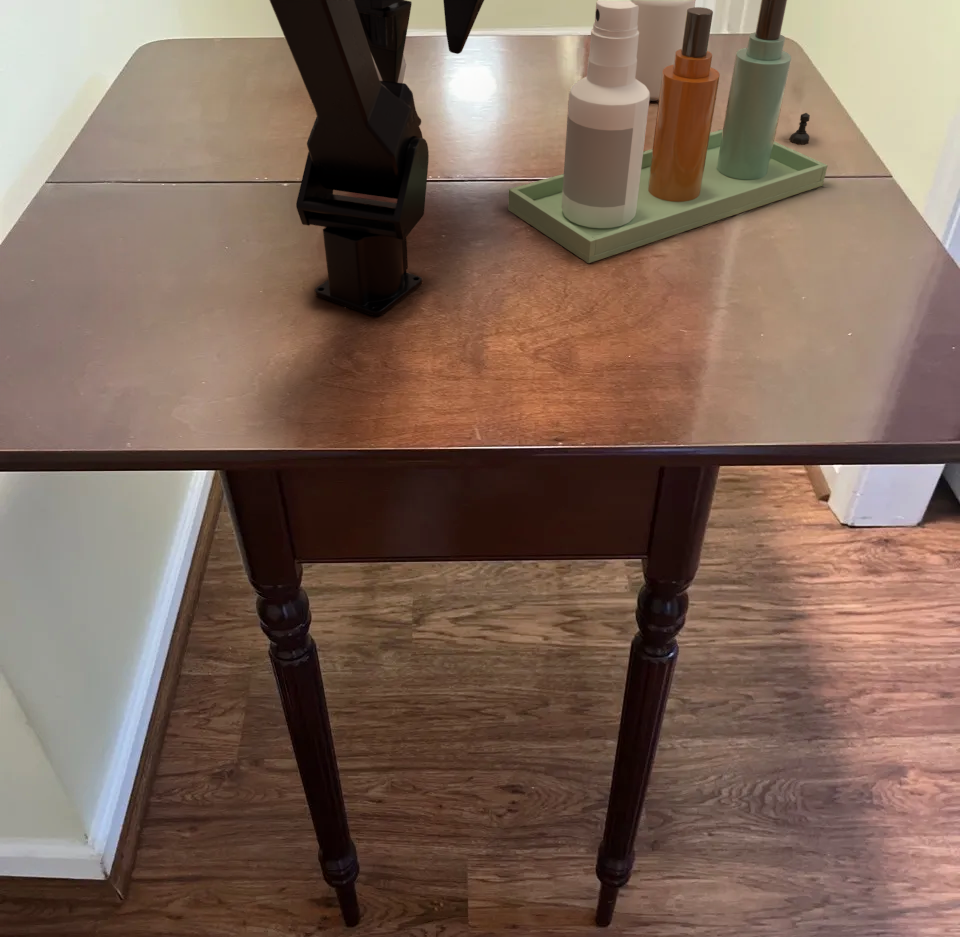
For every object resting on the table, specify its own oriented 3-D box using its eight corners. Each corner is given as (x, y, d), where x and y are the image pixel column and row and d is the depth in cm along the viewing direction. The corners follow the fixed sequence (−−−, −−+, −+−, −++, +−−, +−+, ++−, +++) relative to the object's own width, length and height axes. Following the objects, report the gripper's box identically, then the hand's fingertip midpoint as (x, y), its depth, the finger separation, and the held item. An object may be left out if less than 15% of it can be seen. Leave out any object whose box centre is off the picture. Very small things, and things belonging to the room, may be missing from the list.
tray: (588, 263, 82) (590, 241, 81) (507, 210, 90) (508, 188, 88) (822, 185, 94) (828, 165, 93) (734, 144, 102) (737, 124, 101)
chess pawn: (813, 140, 103) (819, 112, 101) (803, 146, 102) (809, 117, 100) (796, 135, 104) (803, 107, 102) (786, 140, 103) (792, 112, 101)
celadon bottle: (757, 184, 93) (793, 6, 82) (708, 172, 95) (738, -3, 84) (774, 166, 96) (811, -8, 86) (727, 155, 98) (757, -16, 88)
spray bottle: (551, 201, 90) (563, -7, 78) (619, 193, 91) (641, -12, 79) (575, 234, 85) (592, 17, 73) (647, 225, 86) (674, 11, 74)
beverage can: (629, 106, 110) (641, -7, 102) (603, 82, 116) (613, -26, 108) (693, 100, 112) (710, -12, 104) (665, 77, 118) (679, -31, 110)
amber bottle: (688, 206, 89) (717, 22, 79) (639, 193, 91) (660, 13, 81) (708, 187, 92) (738, 8, 82) (660, 175, 94) (684, -1, 84)
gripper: (404, -178, 79) (413, 21, 89) (244, -141, 68) (276, 83, 78) (518, -165, 74) (514, 43, 85) (368, -123, 63) (384, 112, 73)
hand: (423, 68), depth 80 cm, fingers open, 9 cm apart
